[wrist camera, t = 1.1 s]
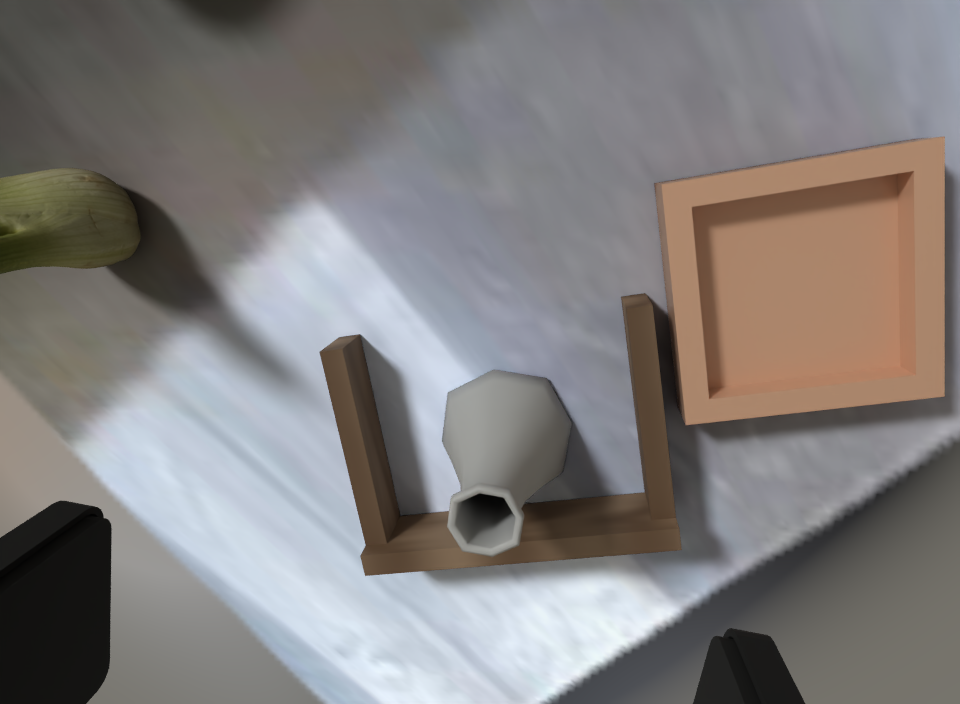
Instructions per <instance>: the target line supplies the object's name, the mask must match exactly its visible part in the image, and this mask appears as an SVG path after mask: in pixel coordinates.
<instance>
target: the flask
mask: <svg viewBox="0 0 960 704" xmlns="http://www.w3.org/2000/svg"><path fill="white" fill-rule="evenodd" d="M571 425H572V423H571V421H570V419H569V417H568V415H567V414H566V412H565V410H564V408H563V406H562V405H561V403H560V401H559V399H558V397H557V396H556V394H555V392H554V390H553V388H552V387H551V385H550V383H549V381H548V379H547V378H543V377H537V376H531V375H524V374H518V373H512V372H506V371H500V370H492V371H490V372H488V373H486V374H484V375H482V376H480V377H478V378H476V379H474V380H472V381H470V382H468V383H466V384H464V385H462V386H460V387H458V388H456V389H454V390H452V391H450V392H448V395H447V403H446V411H445V420H444V428H443V436H442V442H443V445H444V447H445V449H446V451H447V453H448V455H449V457H450V460H451V462H452V464H453V466H454V469H455V471H456V474H457V477H458V479H459V482H460V485H461V491H460V492H458V493H456V494H454V495H452V496H451V501H450V509H449V516H448V524H447V527H448V529H449V530H450V532H451V534H452V535H453V537H454V539H455V540H456V542H457V543H458V545H459V547H460V548H461V550H462V551H463V552H469V553H474V554H479V555H485V556H490V557H493V556H496V555H498V554H500V553H503V552H505V551H507V550H510V549H512V548H514V547H517V546H519V544H520V539H521V532H522V526H523V520H524V513H523V511H522V509H521V508H522V506H523V505H524V503H525V501H526V500H527V499H529V498H530V497H531V496H532V495H533V494H534V493H536V492H537V491H538V490H539V489H540V488H541V487H543V486H544V485H545V484H547V483H548V482H550V481H551V480H553V479H554V478H555V477H557V476H558V475H559V474H561V473H562V472H563V470H564V464H565V459H566V453H567V448H568V442H569V437H570V431H571Z"/></svg>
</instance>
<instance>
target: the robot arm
mask: <svg viewBox="0 0 960 704" xmlns="http://www.w3.org/2000/svg"><path fill="white" fill-rule="evenodd" d="M110 600H111V523H110V522H109V520H108V519H105V518H103V513H102V511H101V509H99V508H98V507H94V506H89V505H83V504H78V503H73V502H68V501H58V502H56V503H54V504H52V505H50V506H49V507H47V508H46V509H44V510H43V511H41V512H39V513H38V514H36V515H35V516H33V517H32V518H30V519H29V520H27V521H26V522H24V523H22V524H21V525H19V526H18V527H16V528H15V529H13V530H12V531H10V532H8V533H7V534H5V535H4V536H2V537H1V538H0V704H86V703H87V702H88V701H89V700H90V699H91V698H92V696H93V695H94V694H95V693H96V692H97V691H98V689H99V688H100V687H101V685H102V683H103V682H104V680H105V678H106V675H107V673H108V669H109V663H110V603H111V602H110ZM693 704H805V703H804V700H803V698H802V696H801V694H800V692H799V690H798V689H797V687H796V685H795V683H794V681H793V679H792V677H791V675H790V673H789V671H788V669H787V667H786V665H785V663H784V661H783V659H782V657H781V655H780V653H779V651H778V649H777V647H776V645H775V643H774V641H773V640H772V638H771V637H770V636H768V635H764V634H758V633H753V632H748V631H742V630H737V629H732V628H730V629H728V630H727V631H726V632H725V634H724V636H723V637H720V636H715V637H713V639H712V640H711V643H710V646H709V649H708V653H707V657H706V660H705V663H704V667H703V671H702V674H701V678H700V681H699V685H698V688H697V692H696V696H695V699H694V702H693Z"/></svg>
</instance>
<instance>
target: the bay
mask: <svg viewBox="0 0 960 704" xmlns="http://www.w3.org/2000/svg"><path fill="white" fill-rule="evenodd" d="M621 299H622V307H623V316H624V324H625V332H626V340H627V349H628V357H629V365H630V374H631V382H632V390H633V398H634V407H635V415H636V423H637V431H638V440H639V448H640V456H641V465H642V473H643V481H644V489H645V493H634V494H624V495H613V496H603V497H592V498H582V499H571V500H561V501H551V502H540V503H530V504H524V505H523V506H522V508H521V509H522V511H523V513H524V520H523V526H522V532H521V539H520V544H519V546H517V547H514V548H512V549H510V550H507V551H505V552H503V553H500V554H498V555H496V556H493V557H490V556H485V555H479V554H474V553H469V552H463V551H462V550H461V548H460V547H459V545H458V543H457V542H456V540H455V539H454V537H453V535H452V534H451V532H450V530H449V529H448V527H447V524H448V516H449V511H446V512H436V513H425V514H415V515H404V516H400V512H399V508H398V503H397V499H396V494H395V490H394V485H393V481H392V476H391V472H390V467H389V463H388V458H387V454H386V449H385V445H384V440H383V436H382V431H381V427H380V422H379V418H378V413H377V409H376V404H375V400H374V395H373V391H372V386H371V382H370V377H369V373H368V368H367V364H366V359H365V355H364V350H363V346H362V341H361V337H360V334H359V335H352V336H345V337H339V338H338V339H336V340H335V341H334V342H332V343H331V344H330V345H328V346H327V347H326V348H324V349H323V350H322V351H320V356H321V360H322V364H323V368H324V372H325V377H326V381H327V385H328V389H329V393H330V397H331V402H332V406H333V410H334V414H335V418H336V423H337V427H338V431H339V435H340V439H341V444H342V448H343V452H344V456H345V460H346V464H347V469H348V473H349V477H350V481H351V485H352V490H353V494H354V498H355V502H356V506H357V511H358V515H359V519H360V523H361V527H362V531H363V536H364V540H365V544H366V546H365V548H364V550H363V552H362V554H361V560H362V565H363V569H364V573H365V576H368V575H381V574H393V573H405V572H418V571H430V570H442V569H455V568H467V567H479V566H492V565H504V564H516V563H529V562H541V561H553V560H566V559H578V558H590V557H603V556H615V555H627V554H640V553H652V552H664V551H677V550H682V549H681V540H680V531H679V526H678V523H677V520H676V514H675V505H674V495H673V486H672V477H671V468H670V459H669V450H668V441H667V431H666V422H665V413H664V404H663V395H662V386H661V377H660V367H659V358H658V349H657V340H656V331H655V322H654V313H653V305H652V303H651V302H650V300H649V298H648V297H647V295H646V294H645V293H644V294H637V295H630V296H624V297H621Z"/></svg>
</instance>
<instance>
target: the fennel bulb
mask: <svg viewBox="0 0 960 704" xmlns="http://www.w3.org/2000/svg"><path fill="white" fill-rule="evenodd" d="M140 240H141V233H140V229H139V226H138V217H137V214H136V210H135V207H134V205H133V203H132V201H131V199H130V198H129V196H128V194H127V193H126V191H125V190H124V189H123V188H121V187H120V186H119V185H117V184H116V183H115V182H114V181H112V180H110V179H109V178H107V177H105V176H103V175H101V174H99V173H96V172H93V171H89V170H83V169H75V168H60V169H51V170H46V171H39V172H35V173H29V174H22V175H17V176H10V177H4V178H0V274H2V273H6V272H11V271H15V270H20V269H26V268H31V267H44V266H46V267H50V266H56V267H70V268H86V269H87V268H97V267H104V266H109V265H113V264H115V263H117V262H118V261H123V260H126V259H128V258H129V257H131V256H132V255H133V253H134V252H135V251H136V249H137V246H138V244H139V242H140Z"/></svg>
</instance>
